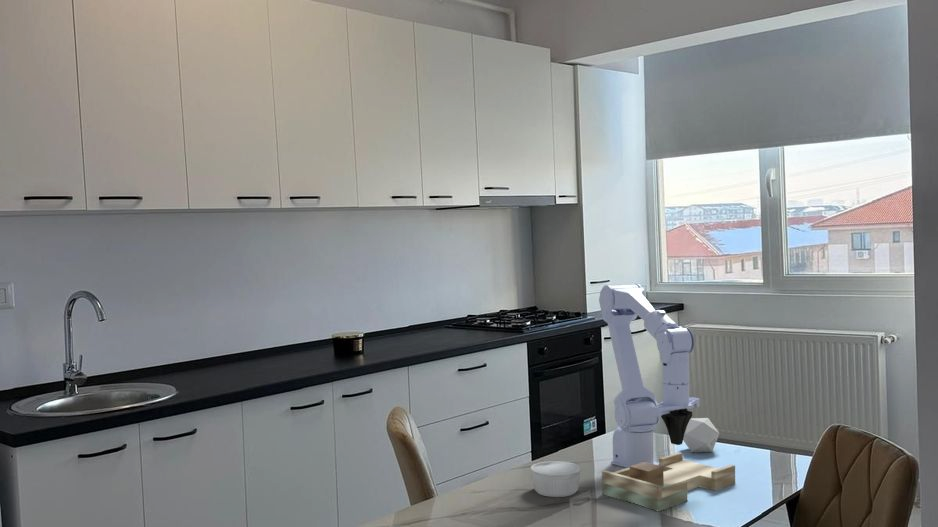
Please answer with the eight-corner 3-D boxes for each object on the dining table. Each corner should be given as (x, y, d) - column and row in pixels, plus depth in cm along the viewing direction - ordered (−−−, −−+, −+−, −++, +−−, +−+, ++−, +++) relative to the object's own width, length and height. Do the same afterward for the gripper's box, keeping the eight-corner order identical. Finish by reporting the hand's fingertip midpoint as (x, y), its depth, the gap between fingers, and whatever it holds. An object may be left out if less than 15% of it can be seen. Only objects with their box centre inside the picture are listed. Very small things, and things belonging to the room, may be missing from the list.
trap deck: (602, 494, 177) (602, 471, 177) (679, 469, 194) (678, 448, 194) (658, 511, 165) (658, 487, 165) (735, 483, 182) (735, 461, 182)
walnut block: (629, 485, 175) (629, 466, 175) (644, 480, 178) (644, 461, 178) (648, 490, 171) (648, 471, 171) (663, 485, 174) (663, 466, 174)
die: (712, 459, 204) (729, 424, 206) (679, 441, 205) (696, 406, 208) (702, 462, 212) (719, 428, 214) (671, 445, 213) (688, 411, 216)
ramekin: (552, 480, 188) (552, 457, 188) (592, 490, 180) (591, 466, 180) (520, 491, 180) (519, 468, 180) (559, 503, 172) (559, 478, 172)
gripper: (670, 389, 173) (670, 453, 173) (711, 380, 182) (711, 441, 183) (643, 385, 178) (644, 447, 179) (684, 376, 187) (685, 435, 188)
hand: (676, 443), depth 181 cm, fingers closed
